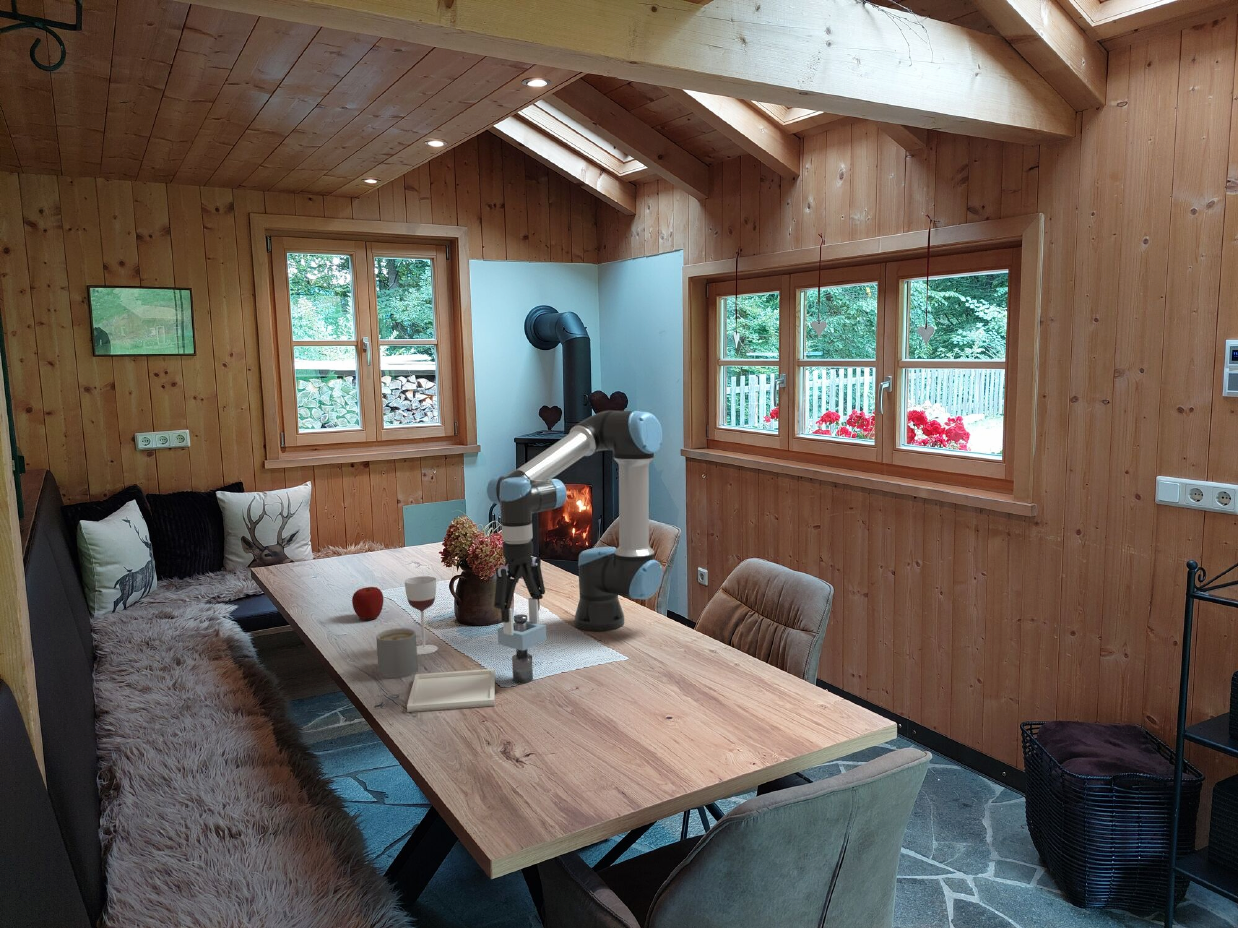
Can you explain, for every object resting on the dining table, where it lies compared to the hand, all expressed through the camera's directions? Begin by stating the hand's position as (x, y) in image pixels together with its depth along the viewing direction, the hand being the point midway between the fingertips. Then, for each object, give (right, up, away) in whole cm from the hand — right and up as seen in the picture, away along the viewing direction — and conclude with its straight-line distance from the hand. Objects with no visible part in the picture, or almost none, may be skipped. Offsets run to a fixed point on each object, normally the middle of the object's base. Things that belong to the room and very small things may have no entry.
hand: (521, 628), depth 215 cm
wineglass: (-30, -11, +26) cm, 41 cm away
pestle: (0, -13, +2) cm, 13 cm away
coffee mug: (-34, -13, +11) cm, 38 cm away
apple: (-54, -8, +55) cm, 78 cm away
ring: (0, -4, 0) cm, 4 cm away
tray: (-16, -14, -6) cm, 22 cm away
